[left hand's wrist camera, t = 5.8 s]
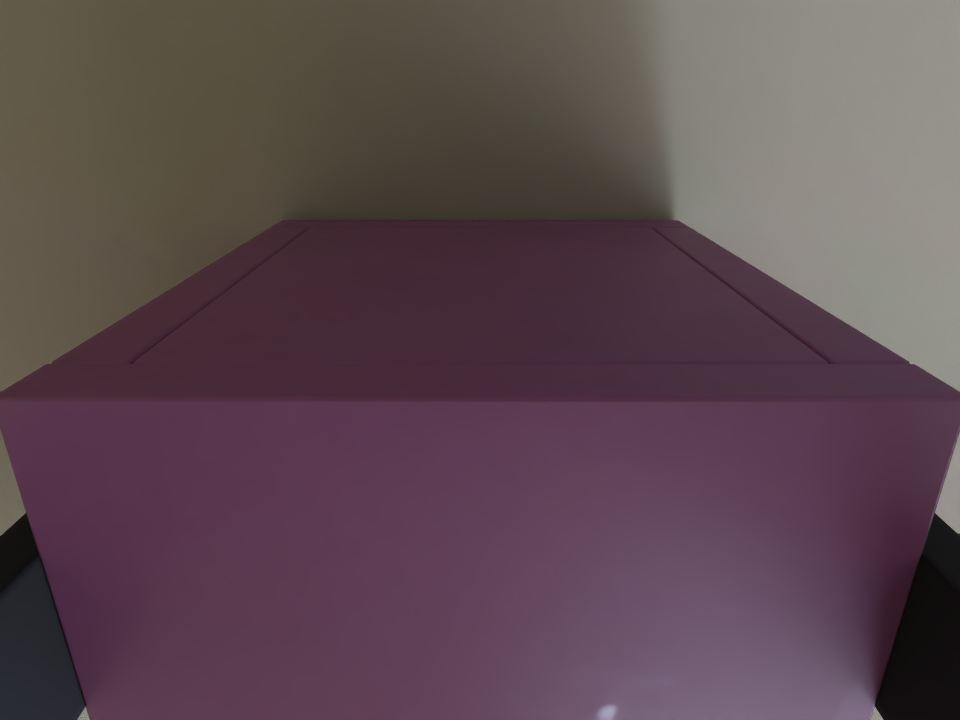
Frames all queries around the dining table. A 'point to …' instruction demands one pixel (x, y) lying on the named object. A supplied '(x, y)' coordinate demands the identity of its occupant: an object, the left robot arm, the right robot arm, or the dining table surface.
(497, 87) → the dining table surface
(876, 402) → the purple rectangular block
